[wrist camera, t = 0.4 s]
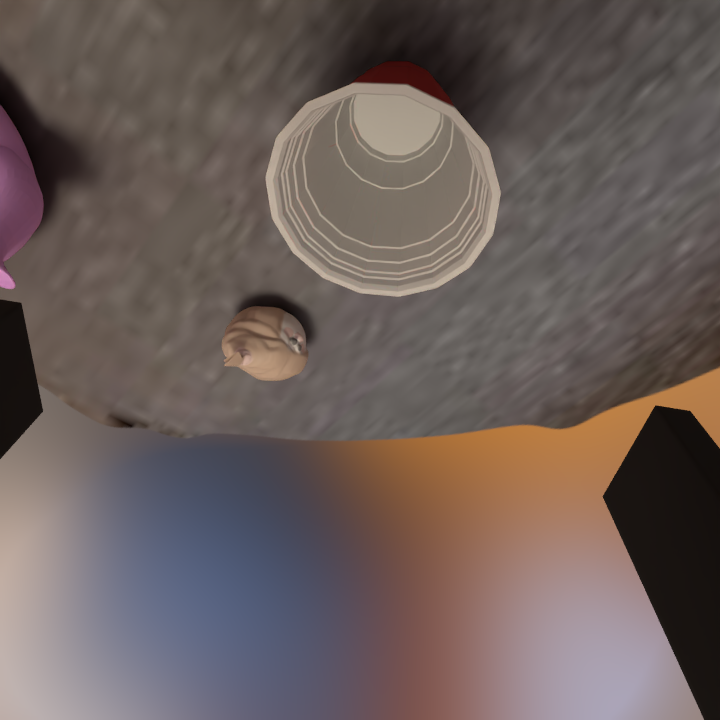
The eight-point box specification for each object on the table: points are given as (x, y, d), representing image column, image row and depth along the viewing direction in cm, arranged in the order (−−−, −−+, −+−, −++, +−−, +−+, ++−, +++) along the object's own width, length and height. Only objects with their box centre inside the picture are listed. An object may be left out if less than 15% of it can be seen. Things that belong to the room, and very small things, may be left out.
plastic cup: (271, 85, 32) (212, 174, 24) (426, -38, 27) (421, 20, 19) (370, 221, 38) (351, 332, 30) (513, 140, 33) (539, 245, 25)
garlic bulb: (308, 292, 43) (289, 360, 38) (317, 349, 48) (301, 418, 42) (229, 291, 44) (199, 358, 38) (245, 347, 48) (220, 415, 43)
